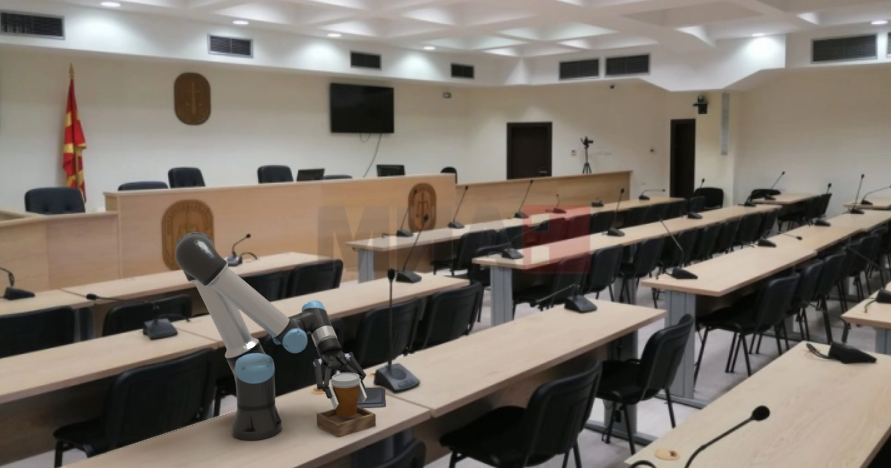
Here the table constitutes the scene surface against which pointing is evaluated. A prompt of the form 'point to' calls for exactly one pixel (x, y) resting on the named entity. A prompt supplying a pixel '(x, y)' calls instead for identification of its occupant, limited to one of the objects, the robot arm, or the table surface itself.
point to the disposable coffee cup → (346, 393)
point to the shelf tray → (346, 421)
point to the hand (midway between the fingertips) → (350, 403)
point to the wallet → (373, 398)
